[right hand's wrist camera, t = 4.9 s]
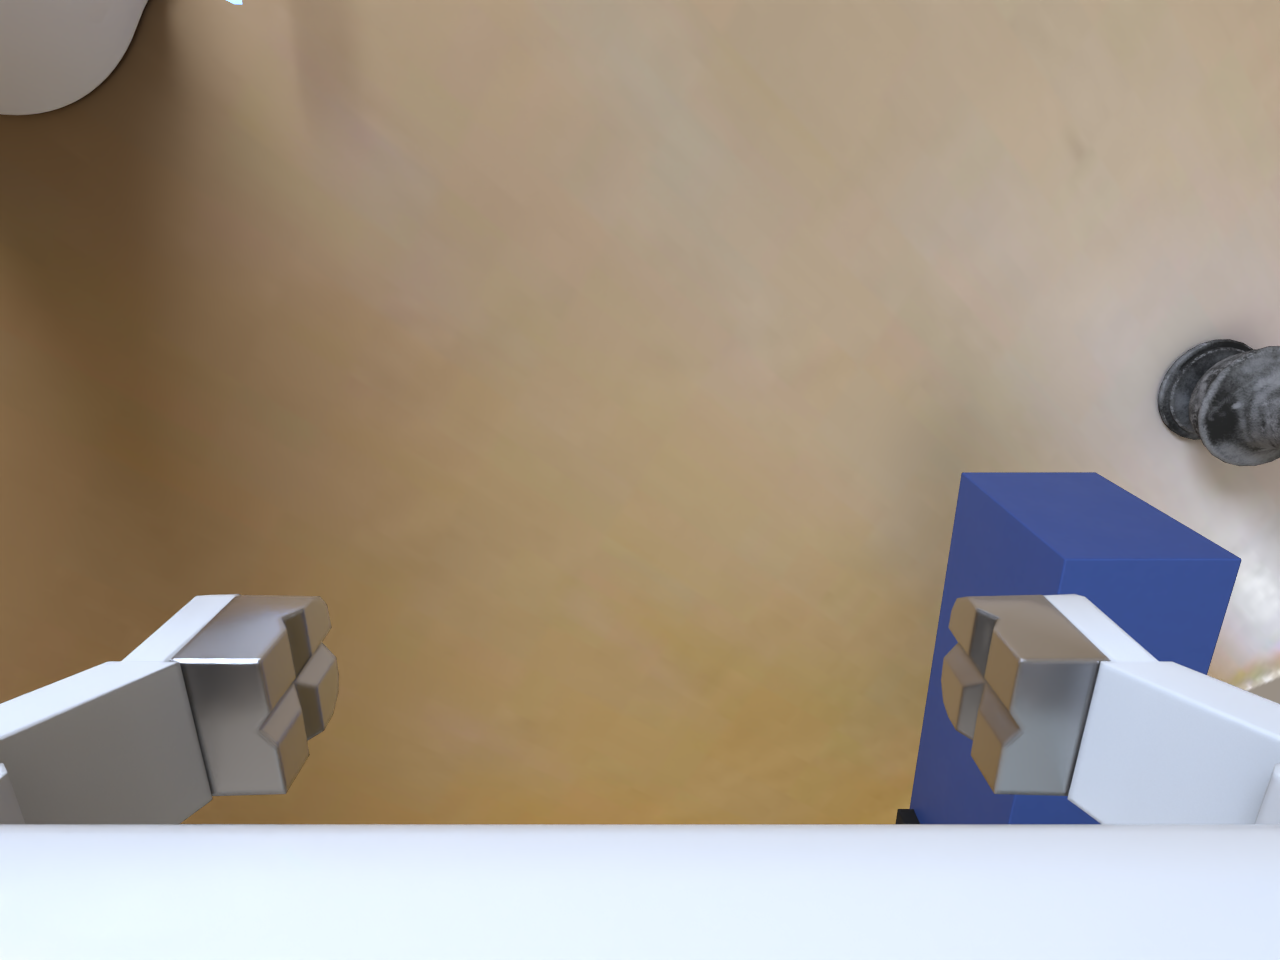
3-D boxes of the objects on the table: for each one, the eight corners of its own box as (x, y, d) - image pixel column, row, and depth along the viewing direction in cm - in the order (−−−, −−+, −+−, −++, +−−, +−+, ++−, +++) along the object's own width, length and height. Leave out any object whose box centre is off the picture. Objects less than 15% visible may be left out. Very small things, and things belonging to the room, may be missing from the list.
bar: (961, 471, 30) (1065, 558, 23) (1095, 472, 31) (1242, 558, 23) (896, 888, 38) (959, 1054, 31) (1004, 888, 38) (1093, 1054, 31)
